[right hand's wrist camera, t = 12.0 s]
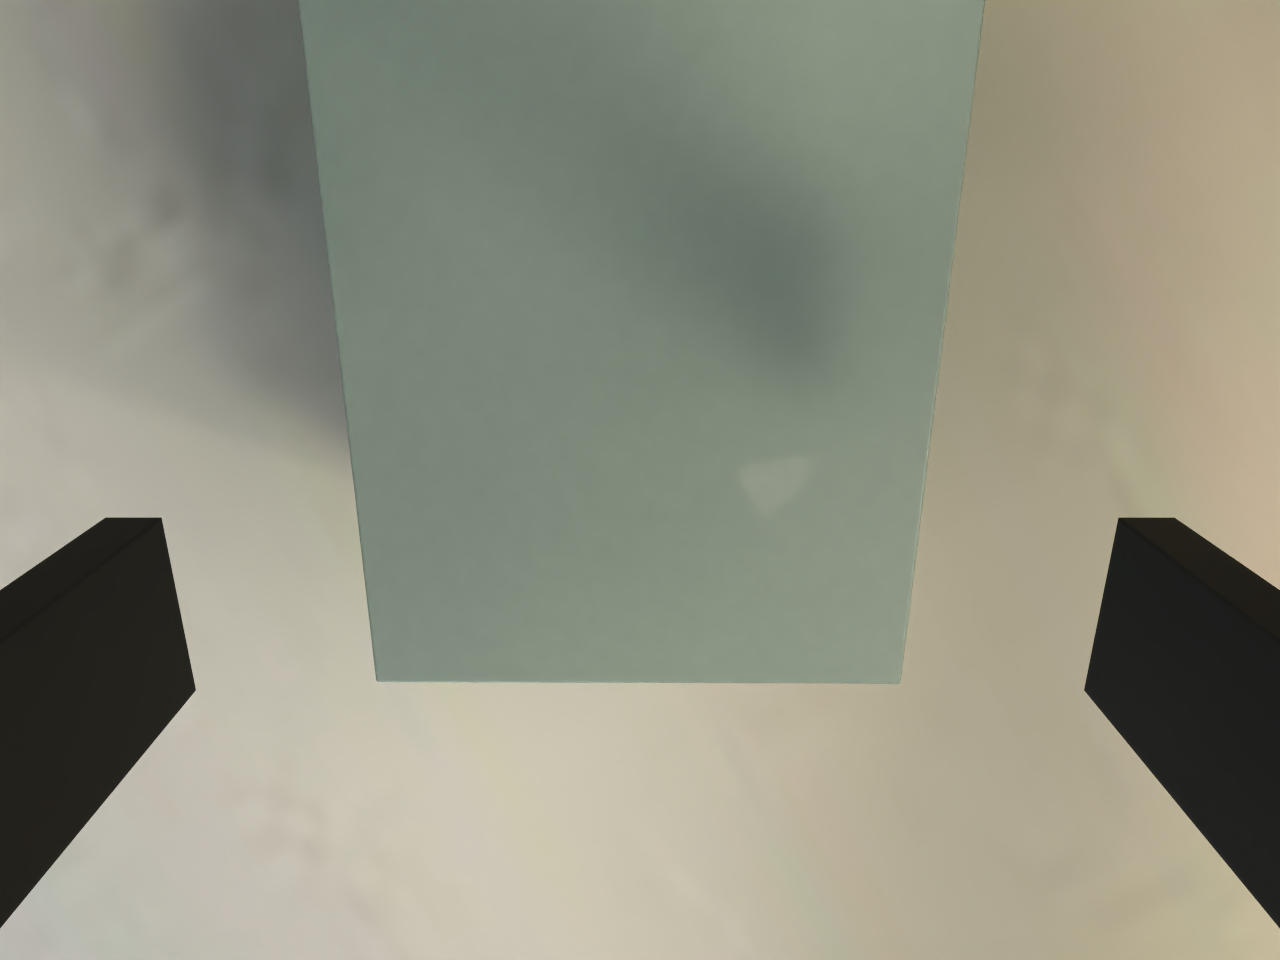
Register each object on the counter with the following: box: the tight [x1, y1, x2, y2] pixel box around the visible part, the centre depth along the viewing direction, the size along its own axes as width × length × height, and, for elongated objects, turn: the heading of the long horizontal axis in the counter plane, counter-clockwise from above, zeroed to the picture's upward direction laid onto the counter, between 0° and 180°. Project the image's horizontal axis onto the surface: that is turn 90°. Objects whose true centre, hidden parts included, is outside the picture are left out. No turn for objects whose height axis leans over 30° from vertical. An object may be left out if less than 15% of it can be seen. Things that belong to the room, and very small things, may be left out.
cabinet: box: [298, 0, 985, 684], centre depth 21 cm, size 18×11×10 cm, turn 0°
